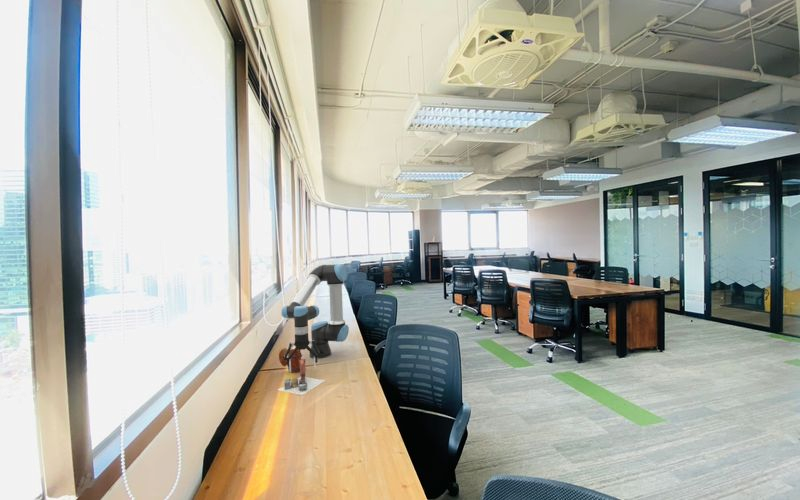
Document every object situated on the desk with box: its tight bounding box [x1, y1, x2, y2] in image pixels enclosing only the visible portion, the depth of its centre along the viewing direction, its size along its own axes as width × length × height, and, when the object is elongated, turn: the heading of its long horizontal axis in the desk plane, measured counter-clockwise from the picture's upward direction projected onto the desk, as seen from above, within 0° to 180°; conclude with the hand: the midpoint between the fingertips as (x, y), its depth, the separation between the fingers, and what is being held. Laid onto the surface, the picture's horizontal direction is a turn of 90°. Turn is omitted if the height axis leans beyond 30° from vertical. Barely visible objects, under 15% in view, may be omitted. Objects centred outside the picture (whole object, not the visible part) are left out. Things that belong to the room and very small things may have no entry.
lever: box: [299, 358, 307, 390], centre depth 179 cm, size 18×4×10 cm, turn 16°
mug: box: [278, 347, 303, 374], centre depth 200 cm, size 15×8×15 cm, turn 84°
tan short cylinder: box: [291, 378, 298, 388], centre depth 177 cm, size 4×4×4 cm
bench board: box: [277, 376, 326, 396], centre depth 179 cm, size 19×17×2 cm
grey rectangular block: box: [283, 378, 292, 390], centre depth 176 cm, size 5×3×4 cm, turn 17°
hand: (302, 370), depth 186 cm, fingers open, 13 cm apart
